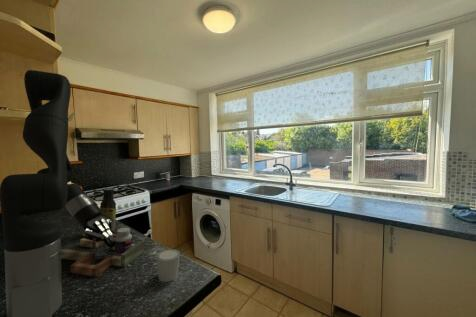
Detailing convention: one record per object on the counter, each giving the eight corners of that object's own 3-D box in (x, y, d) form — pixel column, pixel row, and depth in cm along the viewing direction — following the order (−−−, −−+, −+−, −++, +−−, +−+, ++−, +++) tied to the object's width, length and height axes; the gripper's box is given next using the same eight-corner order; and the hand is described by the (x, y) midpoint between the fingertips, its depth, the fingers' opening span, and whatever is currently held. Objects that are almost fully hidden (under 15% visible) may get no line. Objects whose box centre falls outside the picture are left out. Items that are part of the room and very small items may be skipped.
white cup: (171, 266, 68) (172, 246, 67) (184, 275, 63) (184, 254, 63) (152, 276, 62) (152, 254, 62) (164, 286, 58) (164, 263, 57)
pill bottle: (127, 260, 70) (127, 233, 70) (111, 260, 70) (111, 232, 69) (134, 251, 76) (134, 226, 75) (119, 251, 75) (119, 226, 75)
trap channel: (38, 268, 64) (37, 256, 64) (96, 237, 86) (95, 228, 86) (110, 278, 60) (110, 266, 60) (152, 243, 82) (152, 234, 82)
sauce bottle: (96, 235, 88) (96, 190, 87) (102, 229, 94) (101, 187, 93) (113, 234, 90) (113, 190, 88) (117, 228, 96) (117, 187, 94)
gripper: (73, 208, 66) (106, 248, 65) (105, 198, 79) (133, 231, 78) (59, 222, 67) (92, 262, 66) (93, 210, 80) (120, 243, 79)
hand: (114, 245), depth 72 cm, fingers closed
